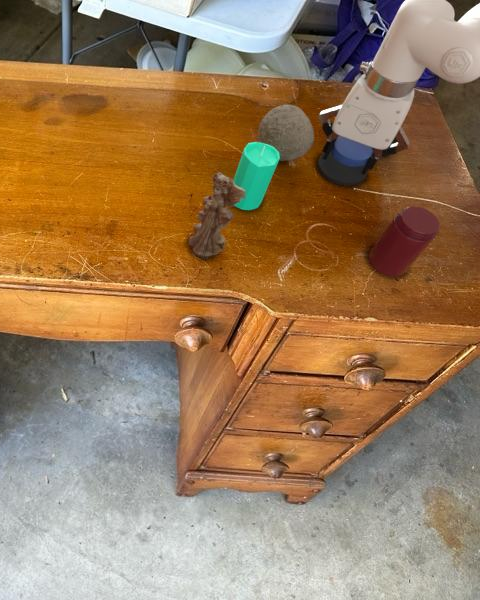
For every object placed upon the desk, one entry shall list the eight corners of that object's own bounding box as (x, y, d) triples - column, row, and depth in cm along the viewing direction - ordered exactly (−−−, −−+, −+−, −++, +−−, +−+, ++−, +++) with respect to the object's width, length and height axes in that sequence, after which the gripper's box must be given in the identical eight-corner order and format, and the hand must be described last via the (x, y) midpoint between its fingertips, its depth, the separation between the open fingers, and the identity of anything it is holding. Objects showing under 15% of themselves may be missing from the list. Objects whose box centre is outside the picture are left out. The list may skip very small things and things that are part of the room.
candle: (221, 196, 103) (238, 144, 93) (243, 181, 105) (262, 129, 95) (246, 215, 101) (267, 164, 91) (268, 200, 103) (290, 148, 93)
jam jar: (409, 254, 97) (444, 212, 88) (405, 281, 93) (440, 241, 85) (371, 241, 98) (401, 199, 89) (365, 268, 95) (396, 226, 86)
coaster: (371, 163, 109) (372, 160, 108) (358, 192, 105) (360, 189, 104) (325, 146, 111) (326, 143, 111) (311, 174, 107) (312, 171, 106)
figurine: (176, 237, 97) (193, 172, 85) (203, 223, 99) (224, 157, 87) (204, 266, 94) (226, 202, 81) (231, 251, 96) (257, 187, 83)
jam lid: (328, 139, 107) (332, 132, 106) (366, 143, 107) (370, 136, 105) (332, 164, 103) (336, 157, 102) (371, 169, 103) (375, 162, 101)
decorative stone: (242, 146, 111) (256, 102, 103) (275, 132, 113) (292, 89, 105) (276, 179, 106) (295, 136, 98) (310, 164, 108) (331, 121, 100)
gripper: (331, 73, 92) (294, 157, 107) (441, 109, 88) (386, 192, 102) (344, 50, 96) (306, 135, 111) (450, 84, 91) (396, 168, 106)
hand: (345, 162), depth 106 cm, fingers closed on jam lid, 6 cm apart
